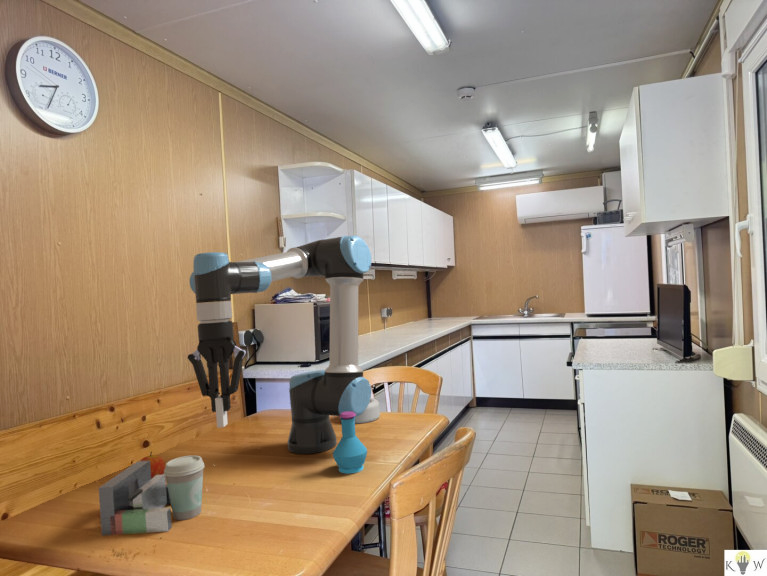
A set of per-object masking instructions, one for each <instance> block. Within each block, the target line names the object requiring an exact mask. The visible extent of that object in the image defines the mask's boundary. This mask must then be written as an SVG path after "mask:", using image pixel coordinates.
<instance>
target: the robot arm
mask: <svg viewBox="0 0 767 576" xmlns="http://www.w3.org/2000/svg"><path fill="white" fill-rule="evenodd" d="M192 265H193V271H192V273H191V274H190V277H189V279H188V280H189V282H188V283H189V287H190V290H191V291H192V292H193V293H194V294H195V306H196V308H195V309H196V321H198V322H199V323H198V324H197V335H198V345H197V347H196V350H195V351H193V352H192V353H189V354H188V355H187V360H188V361H189V362H190V363H191V365H192V367H193V370H194V374H195V376H196V379H197V380H196V381H197V382H198V386H199V390H200V393H201V395H202V396H204V397H205V396H206V397H209V398H210V403H211V404H210V405H211V411H212V413H215V416H216V428H218V429H219V428H224V427H226V426H227V425H228V423H229V422H228V412H229V411H230V410H231V407H232V406H231V395H233V394H235V393H237V391H238V390H239V385H240V381H241V379H240V378H241V373H242V367H243V361H244V359H245V356H246V355H247V353H248V352H247V350H246V349H242V348H240V347H238V346H237V343H236V341H235V339H234V338H235V337H234V325H233V322H232V320H230V319H232V318H233V312H232V311H233V310H232V295H239V294H258V293H263V292H265V291H266V290H268V289H269V288H270V286H271V283H272V282H276V281H279V280H284V279H288V278H294V279H301V278H306V277H307V278H309V277H324V278H325V279H324V280H325V282H326V283H327V284H328V285H329V288H330V289H329V296H330V297H329V302H330V303H329V365H328V367H326V368H325V369H320V370H311V371H308V372H307V371H306V372H302V373H298V374H295V375H292V376H291V377H290V378H289V388H288V391H289V403H290V413H291V414H290V415H291V427H290V432H289V436H288V437H287V438H288V439H287V450H288V451H289V452H290V453H294V454H304V455H305V454H307V455H308V454H316V453H322V452H325V451H328V450H331V449H333V448H334V447H335V446H337V445H338V443H337V442H338V441H337V435H336V433H335V430H334V428H333V425H332V422H331V419H330V416H332V417H333V416H334V417H339V415H340V414H341V413H343V412H349V411H350V412H354V413H355V414H356V416H354V417H358V416H360V415H361V414H362V413H363V412H364V411H365V410H366V408H367V407H368V405H369V402H370V398H372V385H371V384H370V382H369V380H368V379H367V378H365V377H364V369H362V367H360V365H359V287H360V285H361V283H362V282H364V274H366V273H367V272H369V271H370V268H371V267H372V254H371V251H370V248H369V246H368V245H367V242H366V241H365V240H364V239H363V238H362V237H360V236H357V235H343V236H338V237H332V238H327V239H319V240H315V241H311V242H308V243H306V244H302V245H299V246H295V247H290V248H288V249H287V251H286V252H281V253H274V254H270V255H265V256H260V257H259V256H258V257H254V258H249V259H244V260H238V261H233V262H232V261H230V260H229V256H228V254H227V253H225V252H219V251H211V252H210V251H209V252H201V253H197V254H196V255H194V257H193V264H192ZM232 355H233V356H234V361H233V367H232V372H231V379H230V369H229V368H230V367H229V365H230V362H229V361H230V358H231V357H232ZM202 358H203V359H204V360H205V361H206V367H207V372H208V376H207V373H206V371H205V367H204V364H203V362H202ZM218 367H219V374H218ZM219 379H220V386H219ZM219 387H220V389H219ZM220 394H221V395H220Z"/></svg>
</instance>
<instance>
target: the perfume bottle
mask: <svg viewBox="0 0 767 576" xmlns="http://www.w3.org/2000/svg"><path fill="white" fill-rule="evenodd" d="M354 416H356V414H355V413H354V412H350V411H349V412H343V413H341V414H340V415H339V416H338V417H339V419H340V421H341V436H342V437H341V438H340V439H339V442H338V443H337V444H336V447H335V448H334V450H333V452H332V456H333V459H334V461H335V463H336V466H337V467H338V472H339V473H342V474H355V473H359V472H362V471H363V470H364V464H365V463H366V458H367V454H368V448H367V447H366V446H365V445H364V443H363V442H361V441H360V439H359V437H358V436H356V435H357V434H356V424H355V420H354V419H355V417H354ZM340 417H341V418H340Z"/></svg>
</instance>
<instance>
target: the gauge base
mask: <svg viewBox="0 0 767 576" xmlns="http://www.w3.org/2000/svg"><path fill="white" fill-rule="evenodd" d="M150 480H151V468H150V461H140V460H138V461H136V462H134V463H133V464H132V465H130V466H128V467H127V468H125V470H122V471H121V472H120V473H118V474H117V475H116V476H113V477H112V478H110V480H108V481H107V482H105V483H104V484H102V485H101V486H99V487H98V496H99V497H98V499H99V513H100V527H101V529H100V530H101V536H113V535H114V536H115V535H130V534H131V535H133V534H145V533H148V534H149V533H165V532H169V531H170V529H172V528H173V527H172V525H173V524H172V515H171V514H172V513H171V512H172V509H171V507H163V508H154V509H138V510H130V501H127V498H128V497H129V496H130V495H131V494H133V493H134V492H135V491H137V490H138V489H139V488H141V487H142V486H143V485H145V484H146V483H147V482H148V481H150ZM166 495H167V504H166V505H171V502H170V496H169V491H168V486H167V484H166ZM132 501H133V500H132Z"/></svg>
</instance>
